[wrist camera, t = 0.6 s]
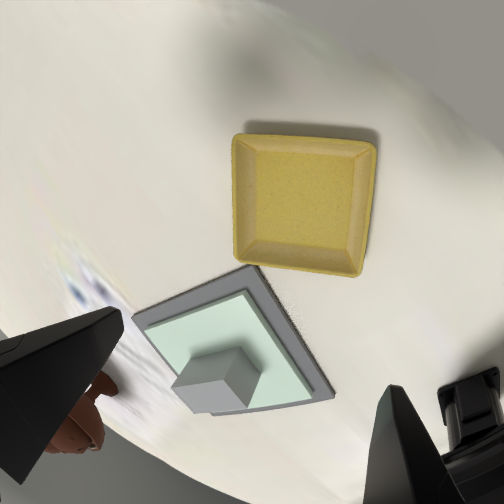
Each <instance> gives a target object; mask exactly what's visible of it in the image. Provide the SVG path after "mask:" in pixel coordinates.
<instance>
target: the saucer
mask: <svg viewBox="0 0 504 504" xmlns="http://www.w3.org/2000/svg"><path fill="white" fill-rule="evenodd" d="M231 156H232V160H231V162H232V204H233V205H232V206H233V254H234V257H235V258H236V259H237V260H238V261H239V262H241V263H245V264H252V265H260V266H268V267H275V268H283V269H293V270H299V271H306V272H313V273H322V274H328V275H336V276H344V277H351V278H354V277H357V276H359V275H360V274H361V272H362V269H363V262H364V256H365V250H366V244H367V237H368V229H369V222H370V213H371V207H372V198H373V188H374V181H375V169H376V159H377V150H376V147H375V146H374V145H373V144H372V143H370V142H365V141H358V140H347V139H336V138H323V137H309V136H292V135H272V134H271V135H269V134H236V135H235V136H234V137H233V139H232V145H231Z"/></svg>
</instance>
